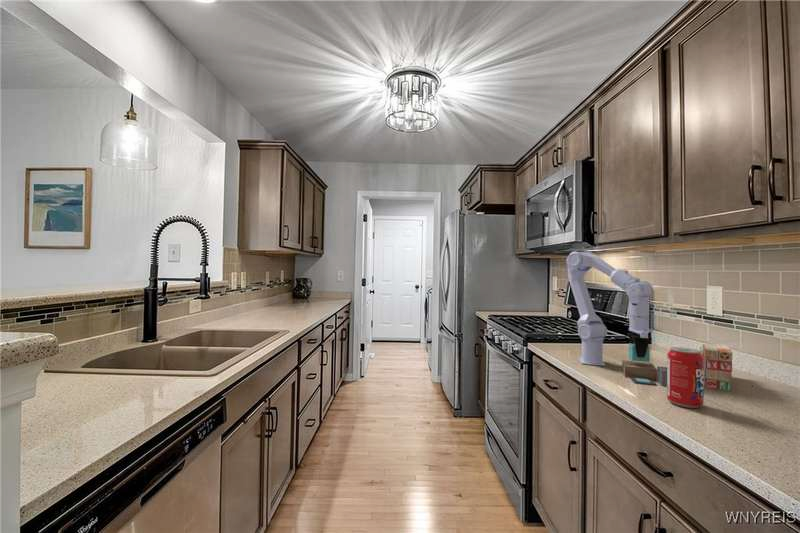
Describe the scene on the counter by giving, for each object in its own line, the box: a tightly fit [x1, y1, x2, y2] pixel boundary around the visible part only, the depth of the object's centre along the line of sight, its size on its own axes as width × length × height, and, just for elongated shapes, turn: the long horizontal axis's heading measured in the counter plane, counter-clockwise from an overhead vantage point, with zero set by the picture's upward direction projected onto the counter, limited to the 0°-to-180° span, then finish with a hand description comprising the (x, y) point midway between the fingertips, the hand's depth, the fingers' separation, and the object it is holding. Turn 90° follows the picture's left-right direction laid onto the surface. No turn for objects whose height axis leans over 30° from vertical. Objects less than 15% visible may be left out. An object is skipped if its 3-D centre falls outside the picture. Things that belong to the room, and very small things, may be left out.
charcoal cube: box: [656, 366, 667, 387], centre depth 116 cm, size 5×5×5 cm
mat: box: [630, 377, 658, 387], centre depth 118 cm, size 6×6×1 cm
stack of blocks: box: [699, 342, 733, 392], centre depth 120 cm, size 21×6×12 cm, turn 144°
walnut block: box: [621, 359, 657, 382], centre depth 126 cm, size 9×9×4 cm
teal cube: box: [628, 342, 651, 363], centre depth 126 cm, size 5×5×5 cm
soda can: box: [666, 346, 705, 409], centre depth 99 cm, size 8×8×15 cm
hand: (638, 355), depth 126 cm, fingers closed on teal cube, 5 cm apart
